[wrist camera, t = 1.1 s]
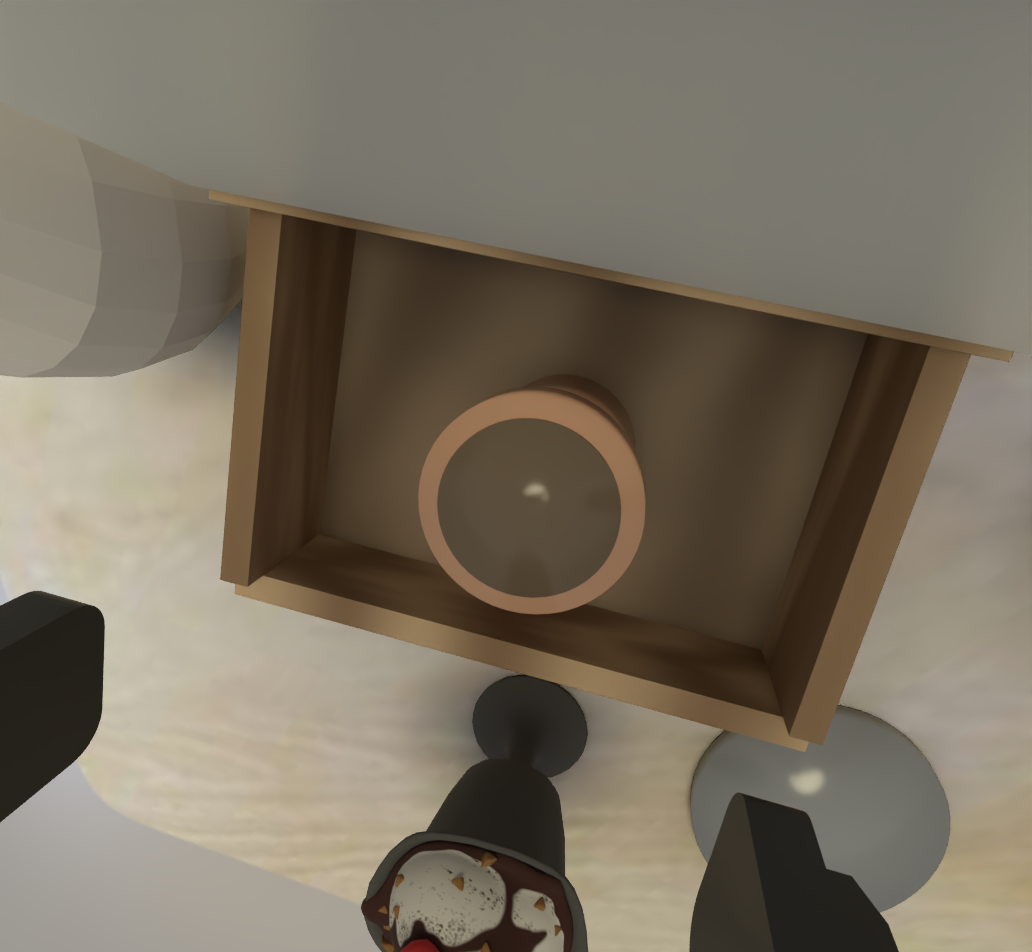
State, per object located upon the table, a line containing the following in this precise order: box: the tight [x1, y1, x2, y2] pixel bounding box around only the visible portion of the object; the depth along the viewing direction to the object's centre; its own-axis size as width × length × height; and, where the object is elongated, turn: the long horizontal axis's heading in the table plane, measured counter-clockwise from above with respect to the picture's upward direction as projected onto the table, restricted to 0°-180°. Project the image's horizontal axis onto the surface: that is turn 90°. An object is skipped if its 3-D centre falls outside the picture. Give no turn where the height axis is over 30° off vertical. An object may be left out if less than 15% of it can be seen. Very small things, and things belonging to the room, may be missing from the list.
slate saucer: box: [690, 705, 950, 913], centre depth 28 cm, size 10×10×1 cm
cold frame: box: [209, 189, 1014, 752], centre depth 23 cm, size 20×14×8 cm
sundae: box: [361, 676, 588, 952], centre depth 23 cm, size 7×7×15 cm
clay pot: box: [418, 374, 646, 614], centre depth 22 cm, size 6×6×8 cm
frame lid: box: [0, 0, 1032, 355], centre depth 9 cm, size 20×14×1 cm
